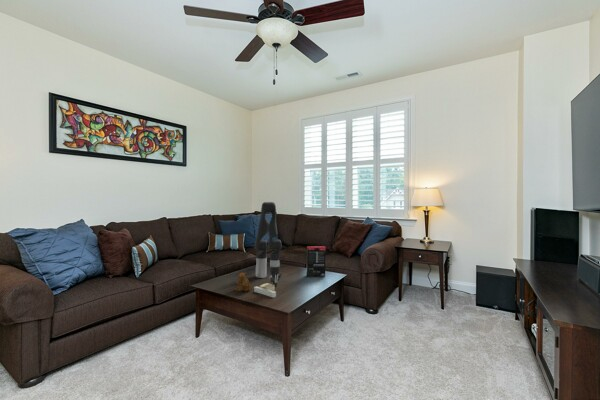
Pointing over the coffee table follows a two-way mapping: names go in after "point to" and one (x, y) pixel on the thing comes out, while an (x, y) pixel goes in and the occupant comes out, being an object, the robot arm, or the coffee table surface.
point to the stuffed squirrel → (243, 283)
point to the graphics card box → (316, 261)
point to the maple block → (268, 286)
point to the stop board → (265, 291)
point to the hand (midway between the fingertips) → (275, 287)
